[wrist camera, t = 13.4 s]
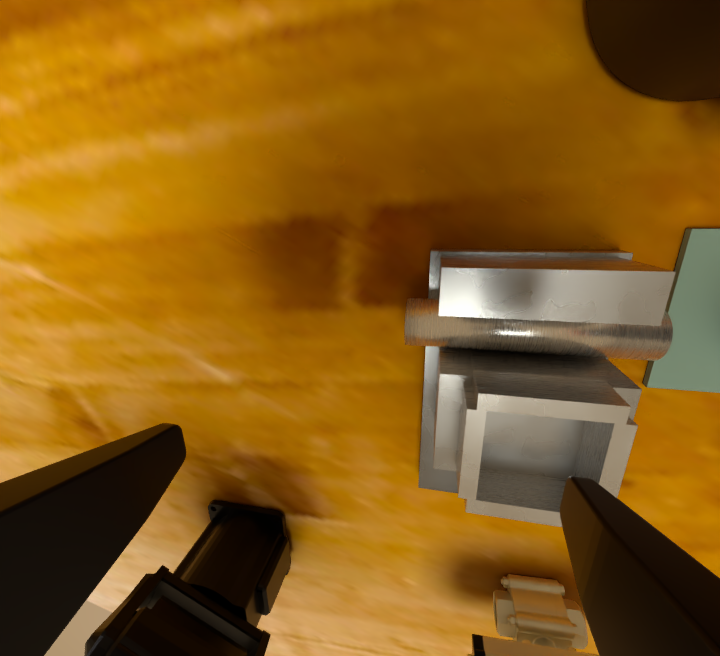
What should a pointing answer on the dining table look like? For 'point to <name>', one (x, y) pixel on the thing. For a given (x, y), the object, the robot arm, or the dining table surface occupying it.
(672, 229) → the dining table surface
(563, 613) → the pneumatic valve
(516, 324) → the clamp base
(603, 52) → the mug
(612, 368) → the bracket
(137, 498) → the robot arm
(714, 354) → the mat
